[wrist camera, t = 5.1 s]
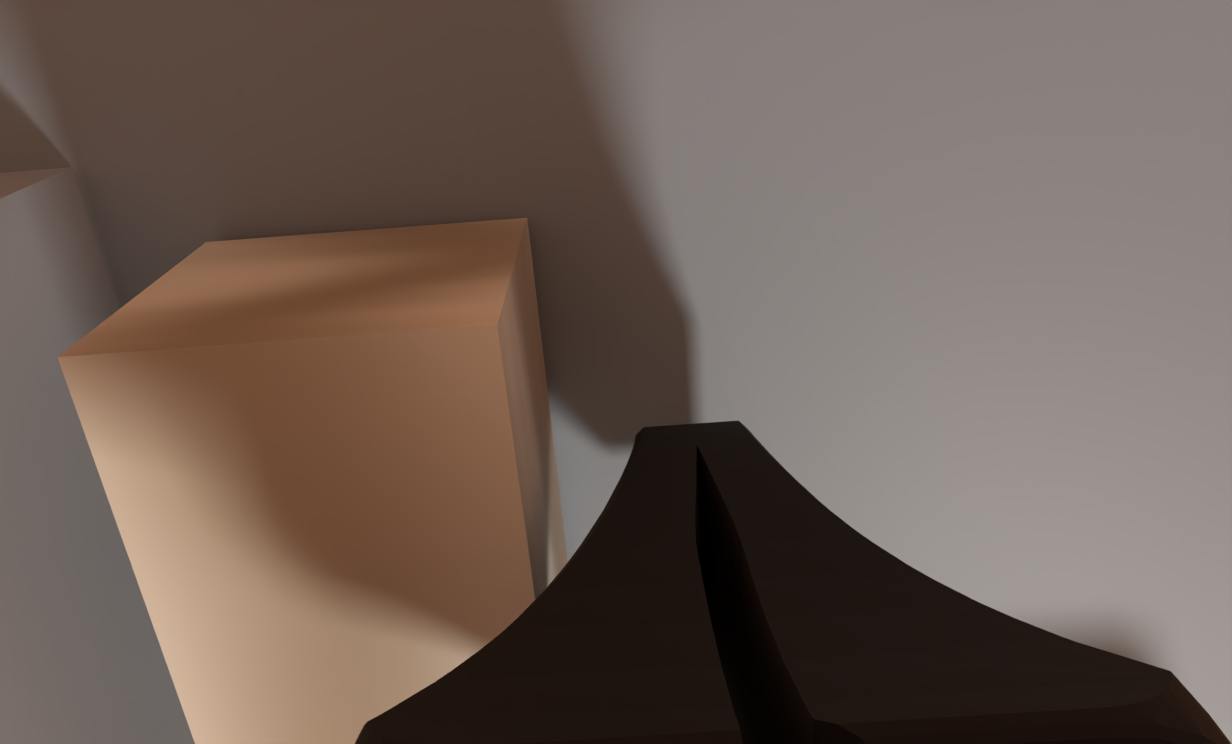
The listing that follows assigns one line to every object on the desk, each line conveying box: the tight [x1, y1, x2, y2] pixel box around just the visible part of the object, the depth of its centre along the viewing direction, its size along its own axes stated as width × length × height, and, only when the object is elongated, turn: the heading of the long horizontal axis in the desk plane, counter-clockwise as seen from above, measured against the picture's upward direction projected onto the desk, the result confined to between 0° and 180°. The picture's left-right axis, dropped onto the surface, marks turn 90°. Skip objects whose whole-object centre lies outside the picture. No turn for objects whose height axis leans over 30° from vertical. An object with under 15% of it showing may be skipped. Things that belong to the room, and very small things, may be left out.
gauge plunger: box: [58, 218, 568, 744], centre depth 12 cm, size 4×11×5 cm, turn 4°
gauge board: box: [0, 0, 1232, 744], centre depth 11 cm, size 22×20×6 cm
